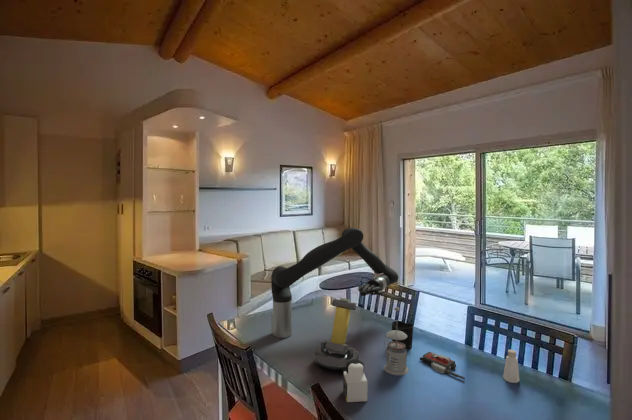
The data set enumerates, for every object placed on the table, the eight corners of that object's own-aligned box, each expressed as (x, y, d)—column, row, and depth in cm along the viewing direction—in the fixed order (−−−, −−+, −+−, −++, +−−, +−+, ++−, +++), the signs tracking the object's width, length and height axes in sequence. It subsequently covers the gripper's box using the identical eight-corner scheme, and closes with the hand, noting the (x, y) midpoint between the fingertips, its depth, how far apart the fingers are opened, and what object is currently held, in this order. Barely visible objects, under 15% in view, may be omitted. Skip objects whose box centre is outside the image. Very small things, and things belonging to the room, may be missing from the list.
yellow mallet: (322, 349, 144) (331, 295, 149) (329, 349, 149) (337, 297, 154) (344, 355, 139) (352, 299, 144) (350, 355, 144) (358, 301, 149)
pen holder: (397, 351, 156) (397, 329, 155) (388, 342, 165) (388, 321, 165) (416, 349, 158) (417, 327, 157) (406, 340, 167) (407, 319, 166)
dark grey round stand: (306, 367, 141) (306, 348, 141) (328, 350, 157) (328, 332, 156) (346, 380, 132) (346, 359, 131) (366, 361, 147) (366, 342, 147)
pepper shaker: (519, 384, 129) (520, 355, 129) (502, 380, 132) (503, 351, 131) (519, 378, 134) (520, 349, 133) (503, 374, 137) (504, 346, 136)
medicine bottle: (343, 390, 126) (343, 357, 125) (362, 389, 126) (363, 356, 125) (346, 402, 118) (346, 367, 118) (367, 401, 119) (367, 367, 118)
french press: (394, 377, 134) (395, 313, 133) (375, 364, 144) (376, 304, 143) (414, 371, 139) (415, 308, 137) (394, 358, 149) (395, 300, 148)
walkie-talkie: (416, 363, 146) (463, 383, 131) (416, 353, 146) (463, 372, 131) (428, 356, 152) (474, 375, 137) (428, 346, 152) (474, 364, 136)
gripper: (364, 276, 181) (349, 283, 167) (389, 279, 174) (375, 288, 160) (364, 290, 182) (349, 299, 167) (389, 294, 175) (375, 304, 160)
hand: (362, 293), depth 164 cm, fingers closed
